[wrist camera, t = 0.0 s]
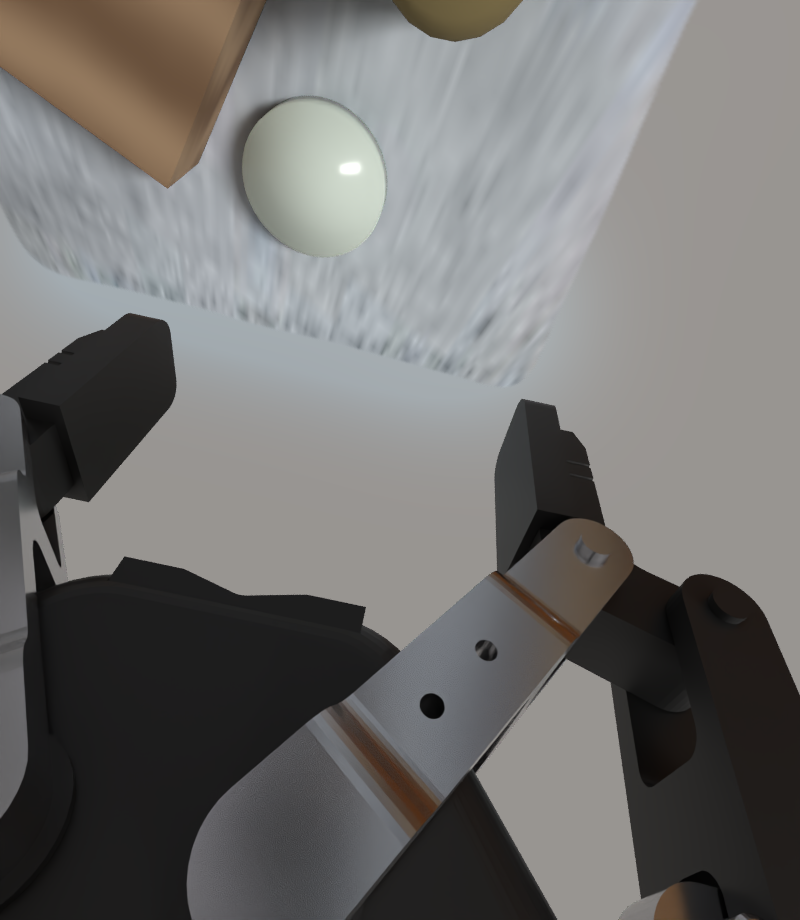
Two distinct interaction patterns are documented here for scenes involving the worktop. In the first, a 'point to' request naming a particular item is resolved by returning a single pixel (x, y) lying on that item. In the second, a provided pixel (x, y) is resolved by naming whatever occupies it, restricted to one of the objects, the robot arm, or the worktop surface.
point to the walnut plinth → (132, 69)
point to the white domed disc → (315, 176)
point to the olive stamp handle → (456, 16)
